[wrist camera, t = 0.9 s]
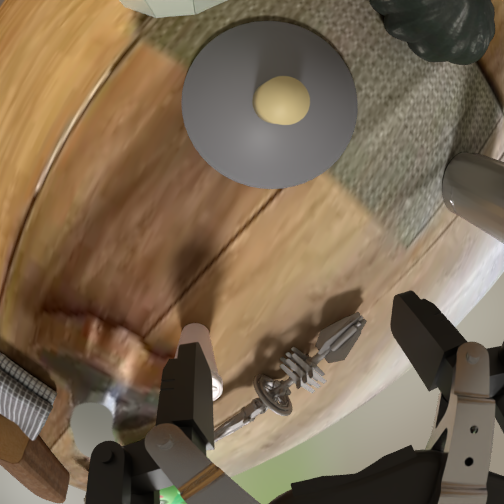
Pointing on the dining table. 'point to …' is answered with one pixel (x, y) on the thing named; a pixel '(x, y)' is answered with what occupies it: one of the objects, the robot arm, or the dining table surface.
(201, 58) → the lid
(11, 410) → the towel
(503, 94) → the dining table surface
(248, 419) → the spaceship
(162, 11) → the bowl
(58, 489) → the bread
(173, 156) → the dining table surface
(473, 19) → the squash
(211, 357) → the smoothie
